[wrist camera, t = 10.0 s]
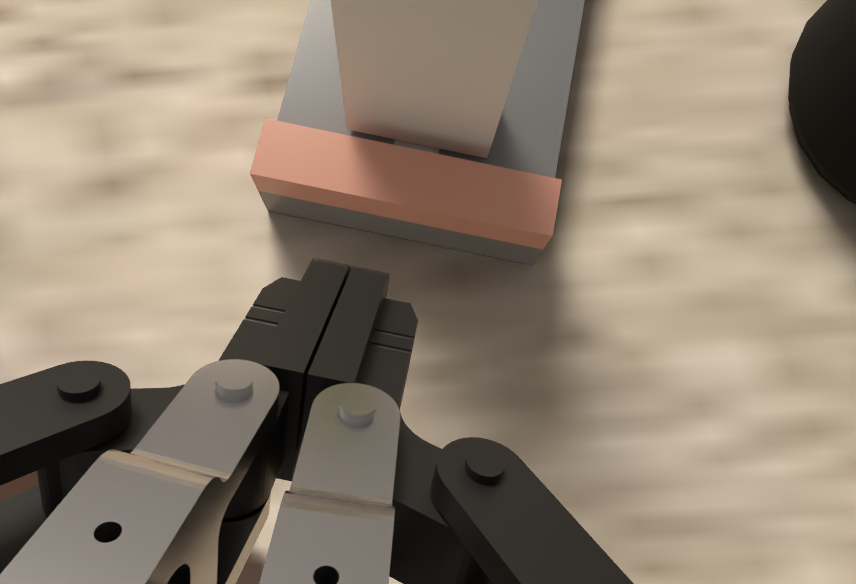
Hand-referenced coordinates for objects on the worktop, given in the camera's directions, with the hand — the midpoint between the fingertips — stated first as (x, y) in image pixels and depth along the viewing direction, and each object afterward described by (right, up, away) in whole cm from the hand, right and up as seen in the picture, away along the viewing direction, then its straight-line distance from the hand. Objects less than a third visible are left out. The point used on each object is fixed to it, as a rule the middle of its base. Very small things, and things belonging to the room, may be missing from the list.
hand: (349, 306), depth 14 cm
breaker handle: (+1, +7, +11) cm, 13 cm away
